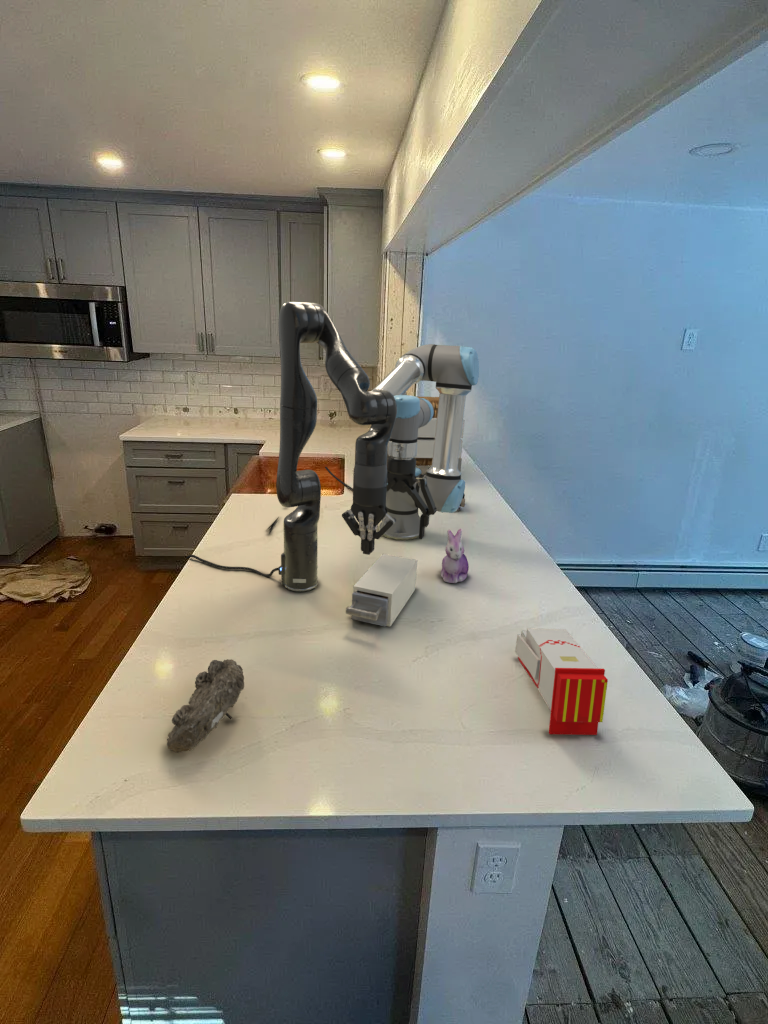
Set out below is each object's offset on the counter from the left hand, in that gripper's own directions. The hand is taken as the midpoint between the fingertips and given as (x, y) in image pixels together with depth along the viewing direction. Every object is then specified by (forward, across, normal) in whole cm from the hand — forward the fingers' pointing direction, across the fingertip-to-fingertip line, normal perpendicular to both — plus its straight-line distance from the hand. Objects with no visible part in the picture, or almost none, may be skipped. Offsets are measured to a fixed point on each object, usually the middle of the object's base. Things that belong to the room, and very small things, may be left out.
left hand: (367, 553), depth 132 cm
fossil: (+21, -16, -40) cm, 48 cm away
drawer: (+20, 0, +10) cm, 22 cm away
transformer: (+21, -28, +143) cm, 148 cm away
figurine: (+21, +14, +39) cm, 46 cm away
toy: (+21, +45, -6) cm, 50 cm away
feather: (+21, -57, +57) cm, 83 cm away
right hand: (+3, 0, +23) cm, 23 cm away
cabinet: (+21, 0, +16) cm, 26 cm away
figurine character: (+21, -1, +102) cm, 104 cm away
